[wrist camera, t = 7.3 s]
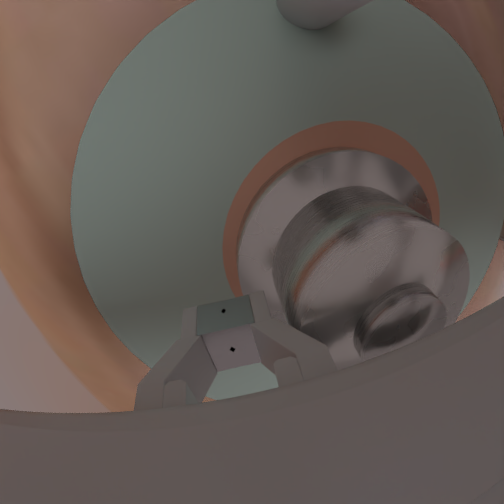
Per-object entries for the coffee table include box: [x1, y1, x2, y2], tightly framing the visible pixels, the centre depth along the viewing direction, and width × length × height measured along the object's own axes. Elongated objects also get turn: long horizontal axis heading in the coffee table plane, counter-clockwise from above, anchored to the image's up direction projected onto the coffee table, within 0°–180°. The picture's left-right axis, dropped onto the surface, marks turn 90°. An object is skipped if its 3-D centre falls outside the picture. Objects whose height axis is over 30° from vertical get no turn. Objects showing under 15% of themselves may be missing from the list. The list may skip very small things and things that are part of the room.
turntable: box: [71, 0, 504, 400], centre depth 11 cm, size 24×24×6 cm
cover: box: [236, 147, 470, 370], centre depth 10 cm, size 9×9×6 cm
